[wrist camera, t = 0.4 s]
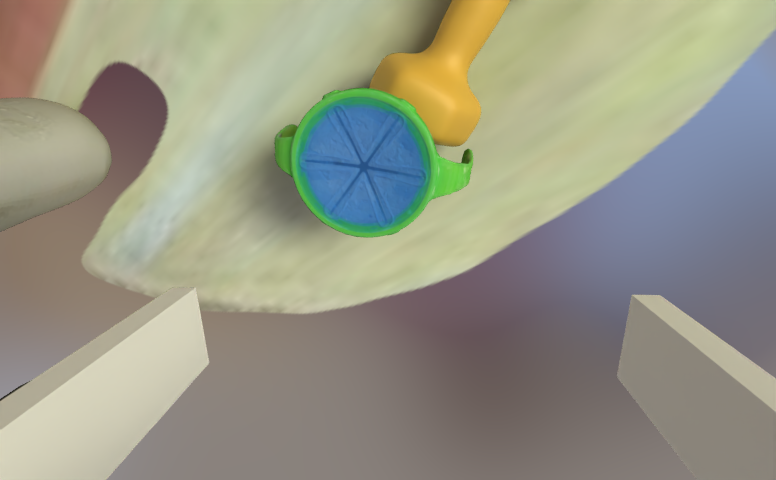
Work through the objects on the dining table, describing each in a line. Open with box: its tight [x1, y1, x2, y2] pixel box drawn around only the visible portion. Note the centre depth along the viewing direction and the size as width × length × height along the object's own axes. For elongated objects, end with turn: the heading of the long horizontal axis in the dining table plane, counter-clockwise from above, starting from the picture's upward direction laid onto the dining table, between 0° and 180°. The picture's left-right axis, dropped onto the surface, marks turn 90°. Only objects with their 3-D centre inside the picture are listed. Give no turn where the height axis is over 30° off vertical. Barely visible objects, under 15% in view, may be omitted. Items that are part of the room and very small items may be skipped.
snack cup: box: [275, 88, 473, 237], centre depth 31 cm, size 16×10×10 cm
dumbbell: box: [369, 0, 510, 146], centre depth 27 cm, size 19×9×8 cm, turn 151°
